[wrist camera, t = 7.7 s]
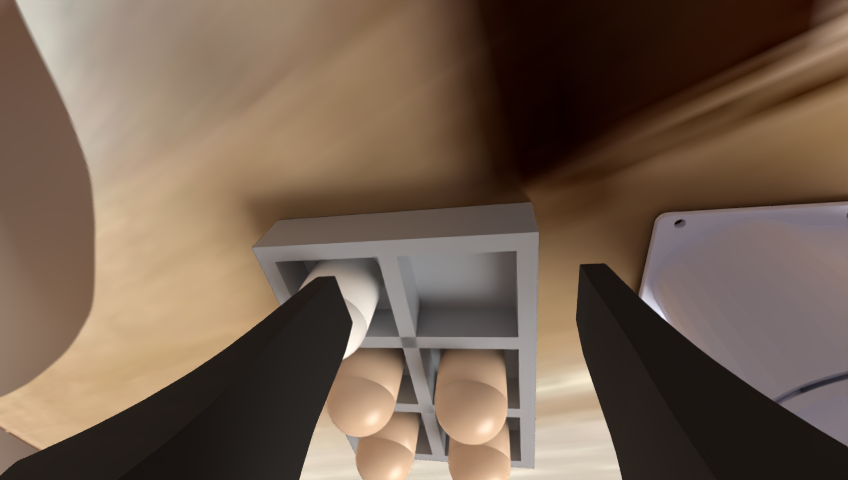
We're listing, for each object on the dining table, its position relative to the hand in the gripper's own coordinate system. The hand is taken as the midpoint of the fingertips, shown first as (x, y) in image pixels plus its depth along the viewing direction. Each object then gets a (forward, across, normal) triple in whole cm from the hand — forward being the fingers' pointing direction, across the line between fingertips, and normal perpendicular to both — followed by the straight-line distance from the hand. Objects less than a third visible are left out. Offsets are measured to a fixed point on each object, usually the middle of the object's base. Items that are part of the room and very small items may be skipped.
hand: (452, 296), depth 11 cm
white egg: (+9, +8, +6) cm, 13 cm away
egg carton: (+9, +4, +13) cm, 16 cm away
